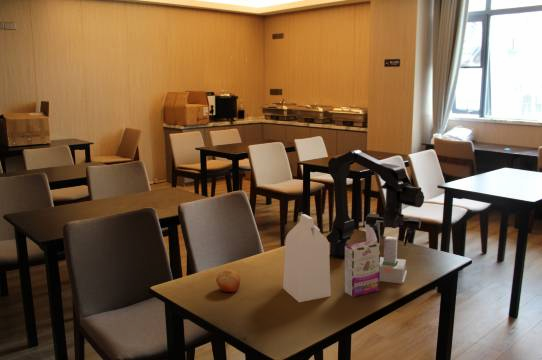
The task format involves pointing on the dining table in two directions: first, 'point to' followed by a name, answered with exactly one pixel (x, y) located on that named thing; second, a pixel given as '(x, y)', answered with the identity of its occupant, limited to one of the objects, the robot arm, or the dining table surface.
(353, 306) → the dining table surface
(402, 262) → the stand base
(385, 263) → the column
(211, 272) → the dining table surface
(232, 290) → the fruit
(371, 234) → the smoothie
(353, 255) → the candy bar box
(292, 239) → the milk
